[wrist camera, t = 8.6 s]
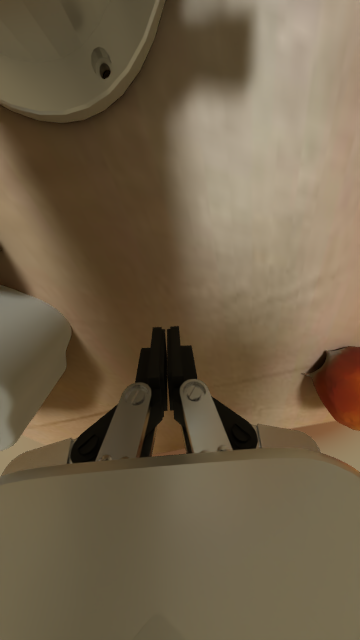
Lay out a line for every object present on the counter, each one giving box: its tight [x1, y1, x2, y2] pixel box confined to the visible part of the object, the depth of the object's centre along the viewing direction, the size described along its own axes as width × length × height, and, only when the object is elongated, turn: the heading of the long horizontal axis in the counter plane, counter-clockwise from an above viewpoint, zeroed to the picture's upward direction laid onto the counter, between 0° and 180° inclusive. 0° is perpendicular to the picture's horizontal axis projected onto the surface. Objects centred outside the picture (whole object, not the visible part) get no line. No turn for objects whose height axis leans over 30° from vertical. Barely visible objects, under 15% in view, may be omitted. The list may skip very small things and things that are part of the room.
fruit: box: [302, 346, 360, 431], centre depth 18 cm, size 8×8×8 cm
